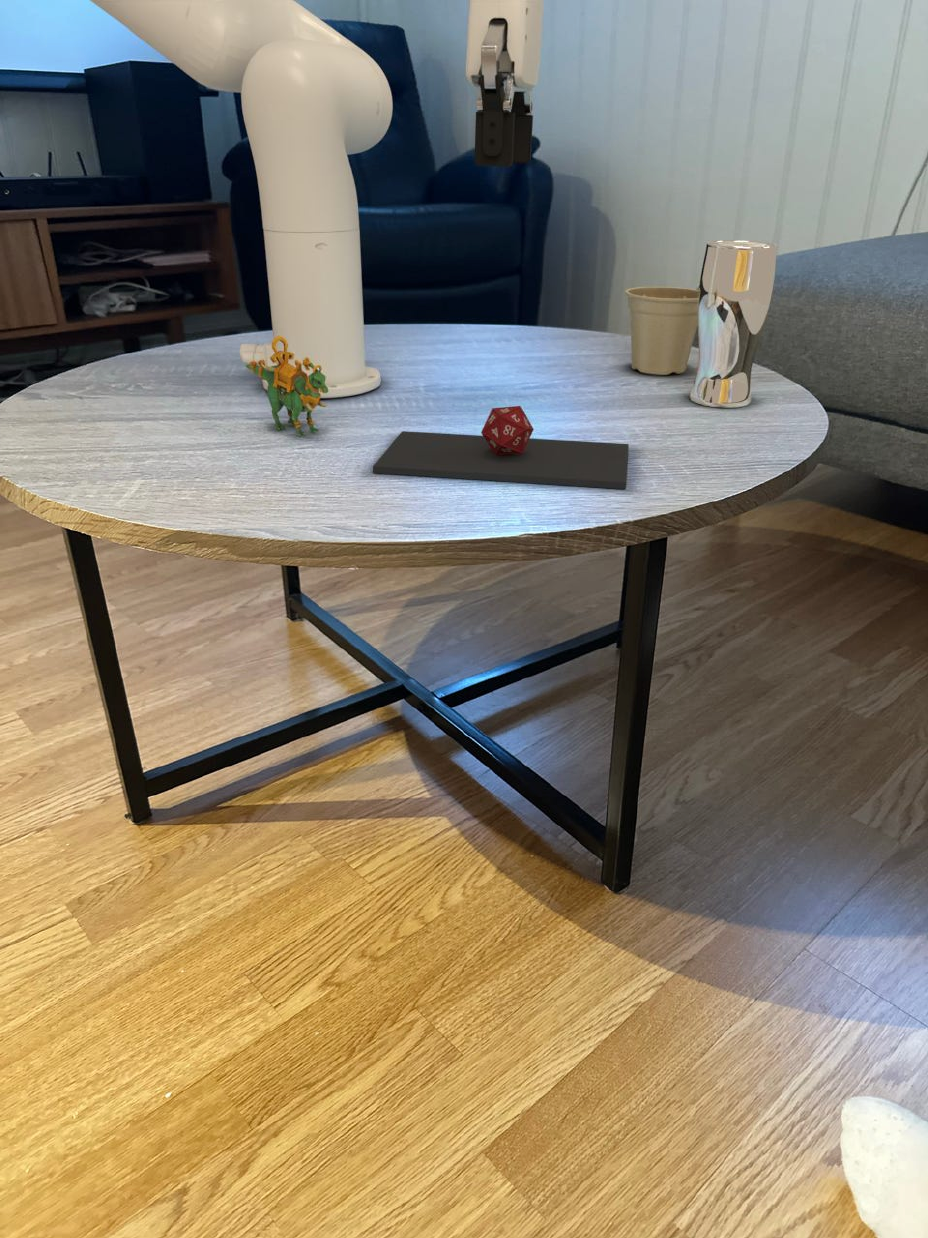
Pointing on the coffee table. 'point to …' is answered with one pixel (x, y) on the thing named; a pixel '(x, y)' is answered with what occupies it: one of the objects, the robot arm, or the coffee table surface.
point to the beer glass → (731, 319)
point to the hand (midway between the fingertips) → (503, 164)
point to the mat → (507, 460)
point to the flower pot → (662, 328)
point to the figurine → (291, 386)
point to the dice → (507, 430)
